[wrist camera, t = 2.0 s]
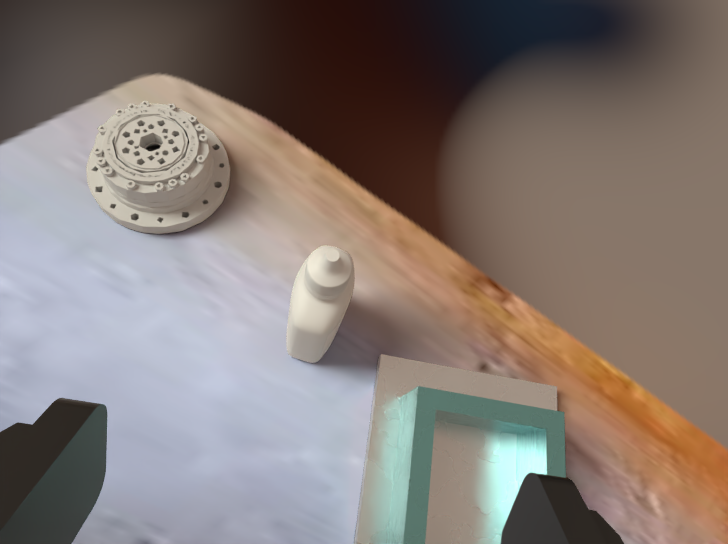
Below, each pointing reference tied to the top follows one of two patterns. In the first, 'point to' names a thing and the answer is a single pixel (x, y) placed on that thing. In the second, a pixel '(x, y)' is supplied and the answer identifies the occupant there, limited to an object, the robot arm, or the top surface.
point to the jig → (452, 452)
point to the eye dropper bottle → (319, 302)
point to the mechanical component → (157, 169)
